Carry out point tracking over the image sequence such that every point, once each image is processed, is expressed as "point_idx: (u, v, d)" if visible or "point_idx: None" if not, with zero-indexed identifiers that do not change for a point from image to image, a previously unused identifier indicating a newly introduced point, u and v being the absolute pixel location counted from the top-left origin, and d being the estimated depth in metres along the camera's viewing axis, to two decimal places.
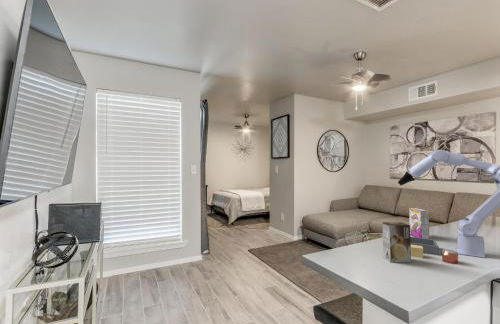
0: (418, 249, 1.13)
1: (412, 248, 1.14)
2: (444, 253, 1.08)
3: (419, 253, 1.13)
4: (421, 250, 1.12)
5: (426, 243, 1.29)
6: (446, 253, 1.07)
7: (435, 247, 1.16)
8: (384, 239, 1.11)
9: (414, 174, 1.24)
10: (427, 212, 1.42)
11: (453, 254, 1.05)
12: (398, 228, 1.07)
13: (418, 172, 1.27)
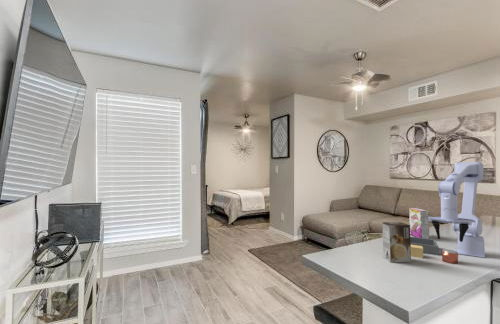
0: (418, 249, 1.13)
1: (412, 248, 1.14)
2: (444, 253, 1.08)
3: (419, 253, 1.13)
4: (421, 250, 1.12)
5: (426, 243, 1.29)
6: (446, 253, 1.07)
7: (435, 247, 1.16)
8: (384, 239, 1.11)
9: None
10: (427, 212, 1.42)
11: (453, 254, 1.05)
12: (398, 228, 1.07)
13: None
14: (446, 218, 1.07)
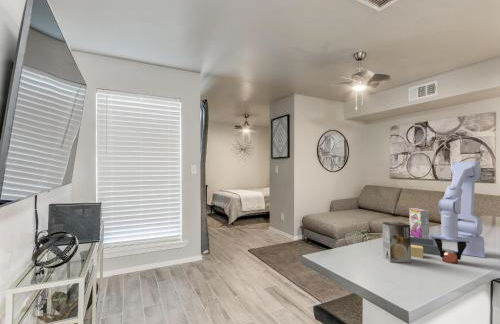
0: (418, 249, 1.13)
1: (412, 248, 1.14)
2: (444, 253, 1.08)
3: (419, 253, 1.13)
4: (421, 250, 1.12)
5: (426, 243, 1.29)
6: (446, 253, 1.07)
7: (435, 247, 1.16)
8: (384, 239, 1.11)
9: None
10: (427, 212, 1.42)
11: (453, 254, 1.05)
12: (398, 228, 1.07)
13: None
14: (446, 236, 1.07)
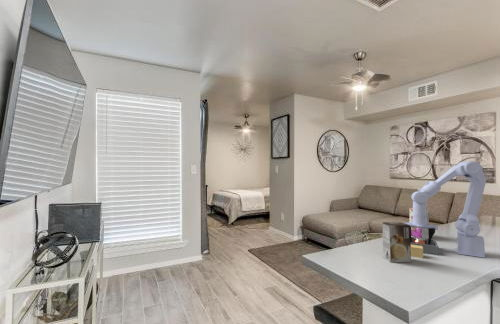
0: (418, 249, 1.13)
1: (412, 248, 1.14)
2: (415, 240, 1.25)
3: (419, 253, 1.13)
4: (421, 250, 1.12)
5: None
6: (417, 240, 1.24)
7: (435, 247, 1.16)
8: (384, 239, 1.11)
9: None
10: (427, 212, 1.42)
11: (422, 241, 1.22)
12: (398, 228, 1.07)
13: None
14: (416, 224, 1.24)
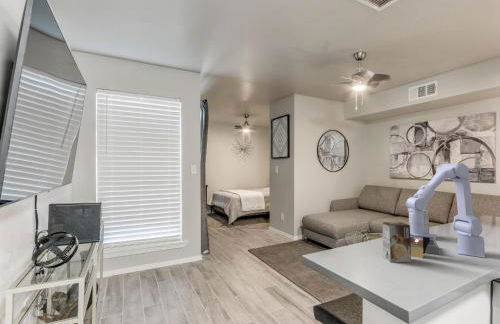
0: (418, 249, 1.13)
1: (412, 248, 1.14)
2: (415, 240, 1.25)
3: (419, 253, 1.13)
4: (421, 250, 1.12)
5: None
6: (416, 240, 1.24)
7: (435, 247, 1.16)
8: (384, 239, 1.11)
9: (435, 236, 1.12)
10: (427, 212, 1.42)
11: (422, 241, 1.23)
12: (398, 228, 1.07)
13: None
14: (413, 232, 1.14)
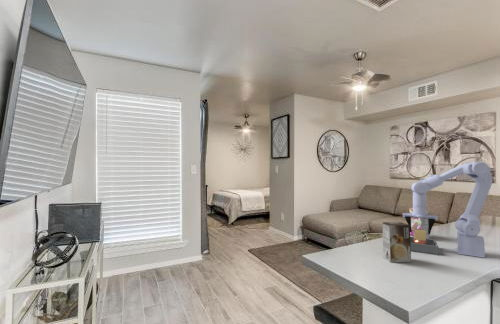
0: (421, 232, 1.23)
1: (416, 231, 1.24)
2: (415, 240, 1.25)
3: (422, 236, 1.23)
4: (424, 233, 1.22)
5: (426, 243, 1.29)
6: (416, 240, 1.24)
7: (435, 247, 1.16)
8: (384, 239, 1.11)
9: None
10: (427, 212, 1.42)
11: (422, 241, 1.23)
12: (398, 228, 1.07)
13: None
14: (416, 214, 1.24)
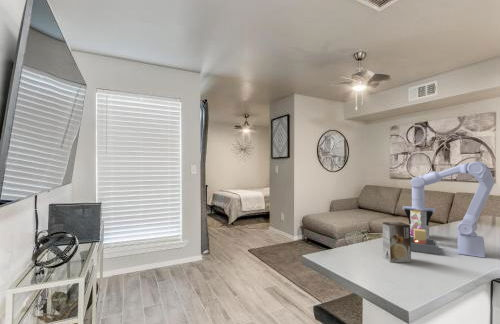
0: (421, 232, 1.23)
1: (416, 231, 1.24)
2: (415, 240, 1.25)
3: (422, 236, 1.23)
4: (424, 233, 1.22)
5: (426, 243, 1.29)
6: (416, 240, 1.24)
7: (435, 247, 1.16)
8: (384, 239, 1.11)
9: (434, 209, 1.31)
10: None
11: (422, 241, 1.23)
12: (398, 228, 1.07)
13: None
14: (415, 207, 1.33)
